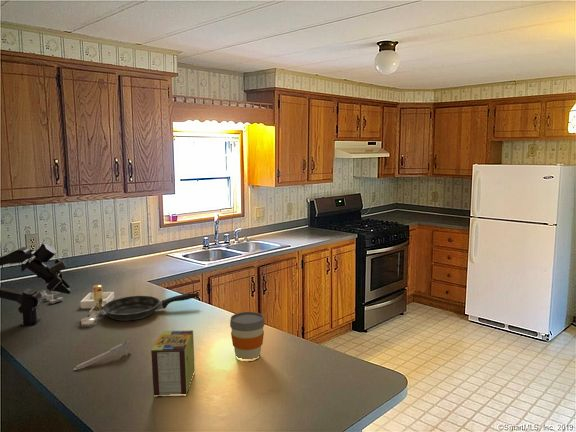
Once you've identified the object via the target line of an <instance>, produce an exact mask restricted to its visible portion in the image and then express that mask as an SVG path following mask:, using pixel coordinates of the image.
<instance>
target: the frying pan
mask: <svg viewBox="0 0 576 432" xmlns="http://www.w3.org/2000/svg"><path fill="white" fill-rule="evenodd" d="M197 297H200V293H198V292H195V293H183V294H178V295H175V296H172V297H168V298H166V299H163V300H161V301H160V299H159V298H158V297H154V296H150V295H133V296H132V295H131V296H125V297H120V298H116V299H113V301H110V302H108V303H107V304H105V305H104V306H103V310H104V311H105V312H106V314H105V315H107V316H108V317H110V318H111V319H113V320H116V321H125V322H127V321H136V320H141V319H144V318H146V317H148V316H150V315H152V314H153V313H155V311H158V310H162V309H166V308H167V307H168V306H169V304H171V303H173V302H182V301H186V300H190V299H194V298H197Z"/></svg>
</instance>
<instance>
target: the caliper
mask: <svg viewBox="0 0 576 432" xmlns="http://www.w3.org/2000/svg"><path fill="white" fill-rule="evenodd" d="M126 349H127V352H128V354H129V353H131V354H132V346H131V343H130V341H129V340H128V339H126V338H125V340H122V343H120V344H117V345H116V346H113V347H112V348H110V349H109V350H107V351H106V352H103V353H101V354H99V355H97V356H95V357H93V358H90V359H89V360H86V361H84V362H82V363H79V364H78V365H76V367H74V368H73V369H72V371H74V370H75V371H76V370H78V369H79V370H81V368H82V369H85V368H86V367H89V366H91V365H94V364H95V363H97V362H99V361H101V360H103V359H105V358H108V357H110V356H112V357H114V356H116V355H119V353H122V355H124V356H125V354H126V355H127V352H126Z"/></svg>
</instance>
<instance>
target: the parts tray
mask: <svg viewBox="0 0 576 432" xmlns="http://www.w3.org/2000/svg"><path fill="white" fill-rule="evenodd" d="M102 292H103V306H104V305H105V304H107V303H108V302H110V301H113V300H115V292H114V291H106V292H105V291H102ZM93 307H94V297H93V292H89V293H88V294H86V296H85V297H83V298H82V300H80V309H92V308H93Z"/></svg>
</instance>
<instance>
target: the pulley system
mask: <svg viewBox="0 0 576 432" xmlns="http://www.w3.org/2000/svg"><path fill="white" fill-rule="evenodd" d="M67 289H68V290H69V291H71V290H70V288H67ZM37 291H38V292H40V293H41V295H42V297H43V299H42V300H46V301H47V302H49V304H52V305H53V304H55V303H57V302H61V301H64V297H63V296H61V297H60V296H57V295H60V294H62V293H61V292H55V291H50V292H51V293H47V291H46V290H37Z"/></svg>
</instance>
